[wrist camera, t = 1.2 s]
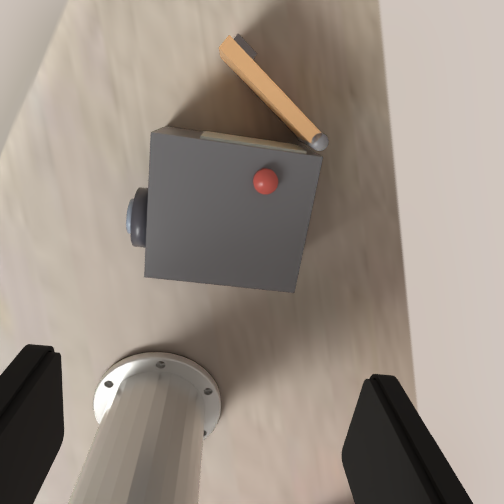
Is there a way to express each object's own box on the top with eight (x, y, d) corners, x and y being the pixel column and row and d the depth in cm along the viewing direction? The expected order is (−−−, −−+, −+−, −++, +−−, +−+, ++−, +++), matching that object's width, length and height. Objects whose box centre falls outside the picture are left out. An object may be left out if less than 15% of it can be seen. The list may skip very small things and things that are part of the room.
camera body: (283, 260, 34) (295, 296, 28) (138, 244, 32) (117, 278, 26) (306, 144, 30) (325, 155, 24) (143, 120, 29) (120, 126, 22)
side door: (303, 144, 30) (319, 154, 24) (219, 59, 27) (217, 49, 22) (318, 129, 29) (337, 135, 24) (235, 40, 27) (236, 26, 21)
